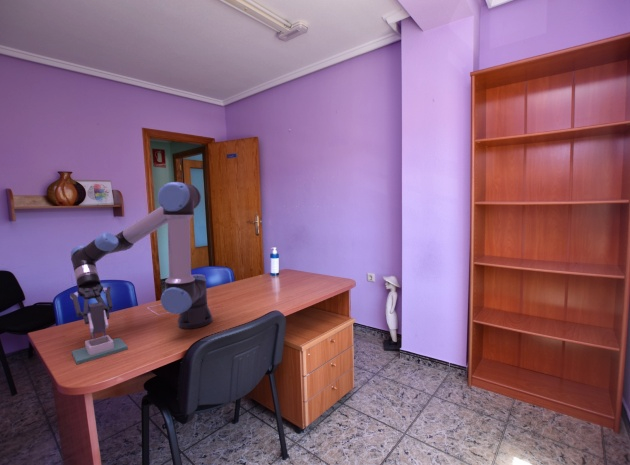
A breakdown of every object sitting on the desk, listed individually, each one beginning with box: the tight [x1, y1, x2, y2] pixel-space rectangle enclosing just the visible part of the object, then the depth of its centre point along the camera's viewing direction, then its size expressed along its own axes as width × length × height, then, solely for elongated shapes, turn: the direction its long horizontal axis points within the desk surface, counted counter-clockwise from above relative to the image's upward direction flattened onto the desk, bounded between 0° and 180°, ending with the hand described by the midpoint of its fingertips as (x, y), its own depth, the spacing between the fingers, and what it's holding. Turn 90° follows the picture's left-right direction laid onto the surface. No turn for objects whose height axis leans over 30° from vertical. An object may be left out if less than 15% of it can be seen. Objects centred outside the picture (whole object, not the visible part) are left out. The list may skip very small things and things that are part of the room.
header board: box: [71, 334, 129, 365], centre depth 121 cm, size 16×12×4 cm
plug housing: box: [88, 302, 107, 339], centre depth 121 cm, size 4×5×12 cm
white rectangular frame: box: [146, 303, 169, 316], centre depth 172 cm, size 11×1×18 cm
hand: (99, 328), depth 118 cm, fingers closed on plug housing, 4 cm apart
